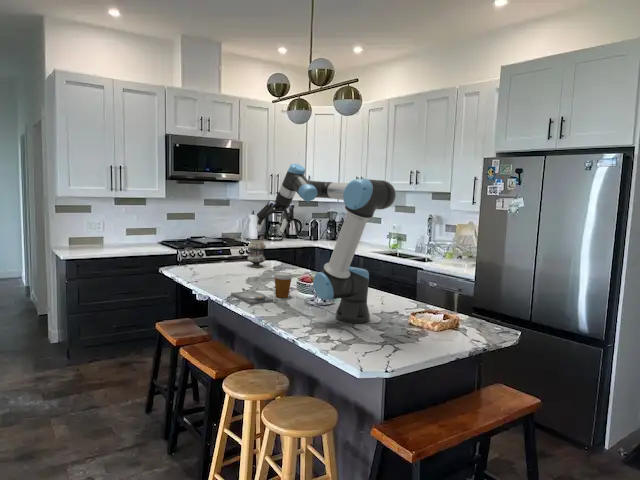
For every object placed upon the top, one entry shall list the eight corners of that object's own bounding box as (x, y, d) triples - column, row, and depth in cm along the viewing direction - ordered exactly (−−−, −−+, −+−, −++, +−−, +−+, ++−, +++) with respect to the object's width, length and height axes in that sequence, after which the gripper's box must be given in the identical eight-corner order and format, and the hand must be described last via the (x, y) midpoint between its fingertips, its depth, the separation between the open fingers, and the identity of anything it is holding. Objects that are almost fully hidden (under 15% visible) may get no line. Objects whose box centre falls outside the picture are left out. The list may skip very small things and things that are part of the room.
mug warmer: (231, 295, 244) (231, 289, 243) (253, 293, 251) (253, 287, 251) (250, 304, 228) (250, 298, 228) (273, 301, 236) (274, 295, 235)
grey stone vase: (258, 264, 335) (260, 239, 333) (268, 268, 326) (269, 241, 324) (243, 266, 328) (244, 239, 326) (253, 269, 319) (254, 242, 317)
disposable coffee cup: (288, 299, 242) (289, 276, 241) (270, 297, 244) (271, 274, 242) (293, 295, 251) (294, 273, 250) (275, 293, 253) (277, 271, 252)
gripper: (303, 192, 238) (287, 227, 248) (260, 187, 223) (244, 224, 232) (310, 201, 234) (293, 236, 243) (266, 196, 218) (250, 233, 227)
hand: (269, 230), depth 238 cm, fingers open, 13 cm apart
